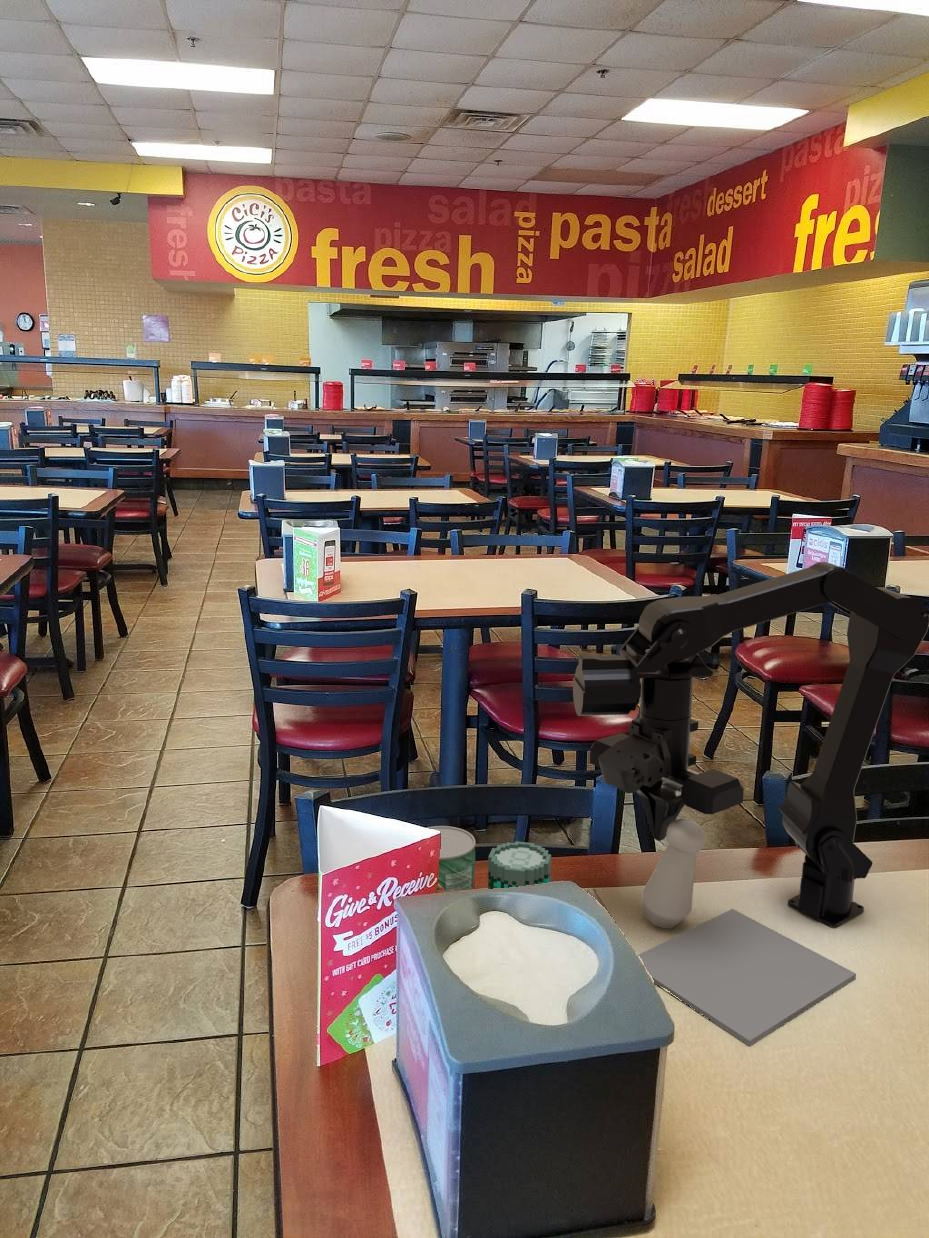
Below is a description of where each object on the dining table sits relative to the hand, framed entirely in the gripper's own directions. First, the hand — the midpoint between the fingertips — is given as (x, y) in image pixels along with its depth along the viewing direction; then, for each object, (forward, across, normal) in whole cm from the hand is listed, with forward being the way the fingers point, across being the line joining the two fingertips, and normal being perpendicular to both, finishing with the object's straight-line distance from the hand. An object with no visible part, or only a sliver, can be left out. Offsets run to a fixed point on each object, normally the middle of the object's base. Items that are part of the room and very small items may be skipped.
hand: (659, 839), depth 106 cm
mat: (+10, +13, -1) cm, 16 cm away
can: (+10, +1, -22) cm, 24 cm away
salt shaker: (+10, +1, 0) cm, 10 cm away
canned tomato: (+10, -13, -22) cm, 28 cm away
